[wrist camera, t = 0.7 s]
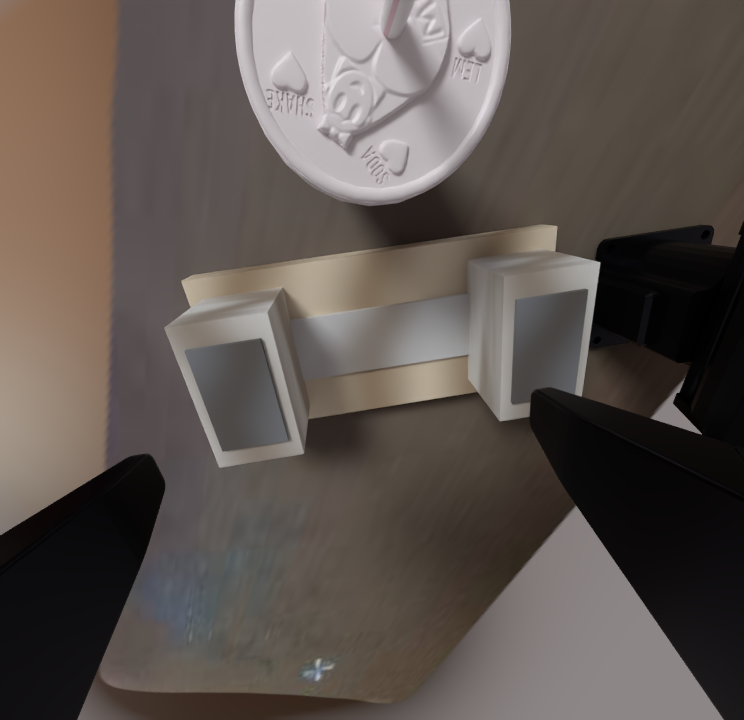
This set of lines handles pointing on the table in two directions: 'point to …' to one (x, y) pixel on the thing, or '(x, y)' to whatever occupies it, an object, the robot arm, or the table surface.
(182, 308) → the table surface
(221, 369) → the board
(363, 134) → the smoothie
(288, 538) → the table surface
